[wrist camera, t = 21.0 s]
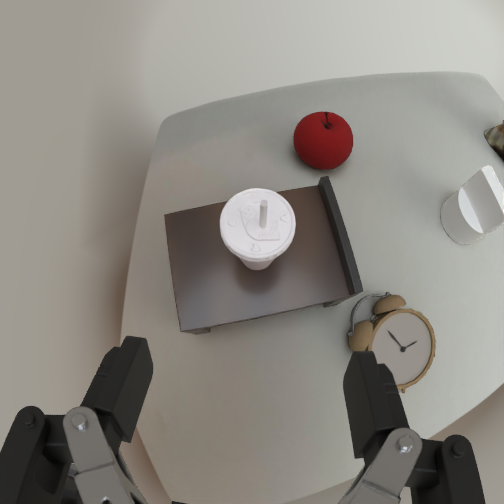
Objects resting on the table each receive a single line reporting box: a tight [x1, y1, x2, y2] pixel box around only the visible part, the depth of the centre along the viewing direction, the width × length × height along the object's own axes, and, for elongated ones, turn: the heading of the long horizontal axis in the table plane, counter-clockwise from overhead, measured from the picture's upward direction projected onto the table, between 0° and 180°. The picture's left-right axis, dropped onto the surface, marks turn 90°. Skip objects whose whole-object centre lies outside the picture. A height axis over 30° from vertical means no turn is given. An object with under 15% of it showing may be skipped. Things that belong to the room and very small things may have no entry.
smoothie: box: [220, 188, 296, 270], centre depth 28 cm, size 6×6×14 cm
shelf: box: [164, 176, 363, 334], centre depth 38 cm, size 20×14×11 cm
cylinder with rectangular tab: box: [441, 166, 504, 245], centre depth 40 cm, size 9×9×12 cm
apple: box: [294, 112, 353, 170], centre depth 44 cm, size 9×9×10 cm
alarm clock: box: [348, 292, 436, 393], centre depth 39 cm, size 11×5×15 cm
